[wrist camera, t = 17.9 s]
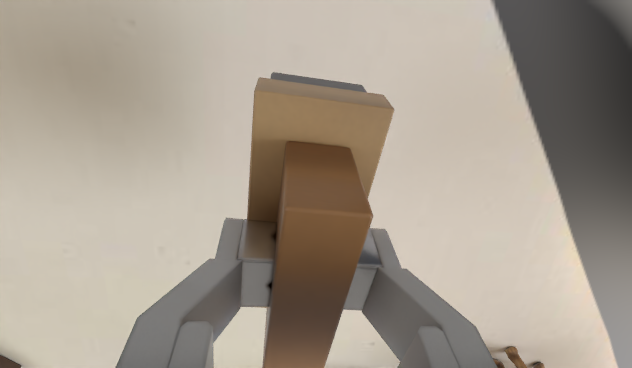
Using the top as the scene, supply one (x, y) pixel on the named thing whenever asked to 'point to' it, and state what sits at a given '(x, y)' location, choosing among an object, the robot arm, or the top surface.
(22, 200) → the top surface
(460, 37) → the top surface
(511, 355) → the lion figurine
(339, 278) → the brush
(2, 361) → the board
